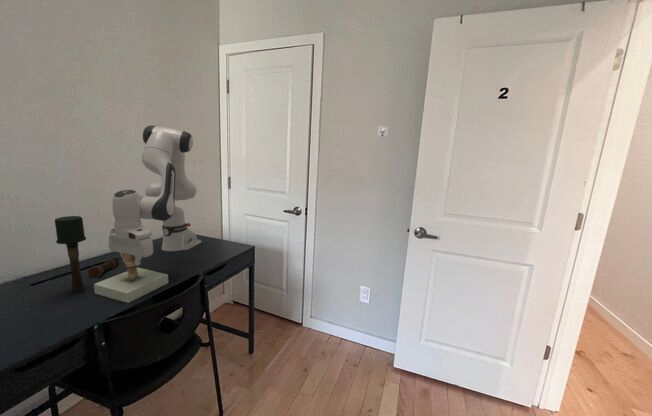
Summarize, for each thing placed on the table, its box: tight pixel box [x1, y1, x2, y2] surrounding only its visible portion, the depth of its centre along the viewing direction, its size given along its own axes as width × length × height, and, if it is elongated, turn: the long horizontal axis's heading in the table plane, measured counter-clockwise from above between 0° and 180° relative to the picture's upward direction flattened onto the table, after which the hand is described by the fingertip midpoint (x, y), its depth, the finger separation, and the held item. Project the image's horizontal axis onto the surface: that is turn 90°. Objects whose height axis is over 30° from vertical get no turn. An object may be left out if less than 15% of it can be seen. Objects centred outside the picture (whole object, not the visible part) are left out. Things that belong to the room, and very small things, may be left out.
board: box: [93, 266, 169, 304], centre depth 116 cm, size 18×18×4 cm
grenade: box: [54, 215, 87, 293], centre depth 109 cm, size 8×9×30 cm
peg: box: [124, 253, 139, 279], centre depth 114 cm, size 4×4×11 cm
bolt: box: [87, 258, 120, 279], centre depth 130 cm, size 6×5×15 cm
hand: (131, 263), depth 114 cm, fingers closed on peg, 4 cm apart
